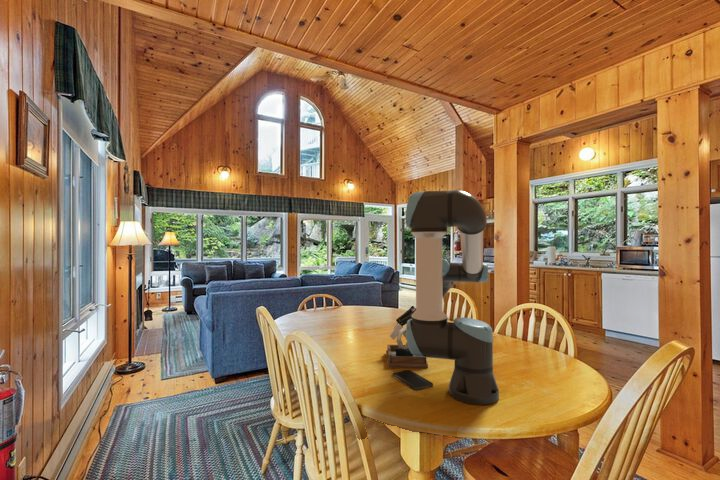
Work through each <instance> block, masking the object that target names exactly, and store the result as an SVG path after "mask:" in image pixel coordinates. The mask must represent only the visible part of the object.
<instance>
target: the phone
mask: <svg viewBox="0 0 720 480" xmlns="http://www.w3.org/2000/svg"><path fill="white" fill-rule="evenodd" d="M392 377H393V378H395V379H396V378H397V380H398V381H399V382H401V383H403V384H404V385H406V386H407V387H408V388H410V389H412V390H413V391H421V390H425V389H429V388H433V387H434V383H433V382H431V381H430V380H428V379H426V378H425V377H423V376H422V375H419V374H418V373H417V372H415V371H413V370H410V369H405V370H401V371H395V372H392Z"/></svg>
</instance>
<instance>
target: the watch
mask: <svg viewBox="0 0 720 480" xmlns="http://www.w3.org/2000/svg"><path fill="white" fill-rule="evenodd" d="M406 330H407V329H406V328H402V329H400V330H399V332H398V334H397V336H396V340H395V341H396V343H397V344H396V345H398V346H399V347H398V348H396V356H413V354H412V353H411V352H410V350H409V348H408V344H407V337H406ZM402 335H403V337H404V338H405V340H406V342H405V344H403V340H402ZM403 345H405V346H403Z"/></svg>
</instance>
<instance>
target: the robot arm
mask: <svg viewBox="0 0 720 480" xmlns="http://www.w3.org/2000/svg"><path fill="white" fill-rule="evenodd" d="M406 203H407V204H406V209H405V225H406V228H409V229H410V233H411V235H412V236H413V237H414V238H415V306H414V305H412V306H410V308H409V309H408V310H406V311H405V312H404V313H402V314H401V315H400V316H398V318H395V319H396V320H395V321H396V325H395V326H394V328H393V329H392V331H391V333H390V334H389V337H390V338H391V339H392V340H393V341H394V340H395V339H397V334H398V332H399V330H400V329H404V326H405V325H406V326H405V329H407V330H406V337H407V340H406V342H407V344H408V348H409V350H410V352H411V353H412V354H413V355H415V356H421V357H424V358H426V359H427V358H431V359H442V360H452V361H454V368H453V371H452V374H451V377H450V381H449V383H448V393H449V396H450V397H452V398H453V399H455V400H456V401H457V400H458V401H460V402H463V403H464V404H465V403H466V404H469V405H476V406H477V405H478V406H480V405H481V406H485V405H491V404H494V403H496V402H498V401H499V400H500V390H499V387H498V384H497V379H496V377H495V374H494V355H493V354H494V350H493V349H494V345H493V343H494V338H493V337H494V335H493V334H494V333H493V328H492V327H491V325H490V324H489V323H488V322H484V321H482V320H478V319H477V318H476V319H475V318H471V317H455V319H454V320H453V322H452V321H450V322H449V321H448V315H447V314H446V313H445V312H444V310H443V307H444V305H443V301H444V300H443V299H444V298H445V297H446V295H447V294H448V293H449V291H450V290H451V288H452V287H453V286H454V284H455V282H456V283H457V282H460V283H462V282H463V283H476V284H478V283H487V282H488V280H489V265H488V263H484V231H485V229H486V228H487V223H488V220H487V213H486V211H485V208H484V207H483V205H482V204H481V202H480V201H479V200H478V198H476V197H475V196H473V195H472V194H471V193H468V192H467V191H464V190H461V189H459V190H458V189H454V190H423V191H418V192H413V193H411V194H410V196H409V197H408V200H407V202H406ZM453 227H456V228H457V230H458V231H459V235H460V248H461V249H460V250H461V260H462V262H449V261H448V259H446V258H444V257H443V238H444V236H446V234H447V233H448V228H453Z"/></svg>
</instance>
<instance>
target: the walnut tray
mask: <svg viewBox="0 0 720 480" xmlns="http://www.w3.org/2000/svg"><path fill="white" fill-rule="evenodd" d="M405 345H406V344H403V346H405ZM398 347H399V346H398V344H387V345H386V348H387V349H386V350H385V356H386V361H387V367H388V369H428V368H429V364H428V361H427V357H426V358H424V357H421V356H415V355H413V356H396V348H398Z"/></svg>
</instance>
